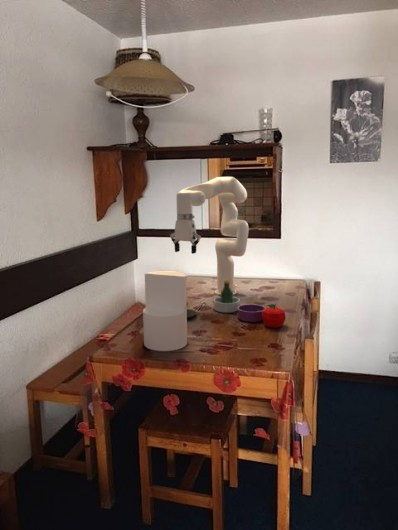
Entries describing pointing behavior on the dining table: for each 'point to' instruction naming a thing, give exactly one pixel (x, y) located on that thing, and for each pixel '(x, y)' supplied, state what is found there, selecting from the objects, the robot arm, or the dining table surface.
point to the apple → (273, 316)
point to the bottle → (226, 293)
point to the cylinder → (165, 310)
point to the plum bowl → (250, 312)
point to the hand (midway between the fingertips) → (185, 252)
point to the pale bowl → (226, 305)
